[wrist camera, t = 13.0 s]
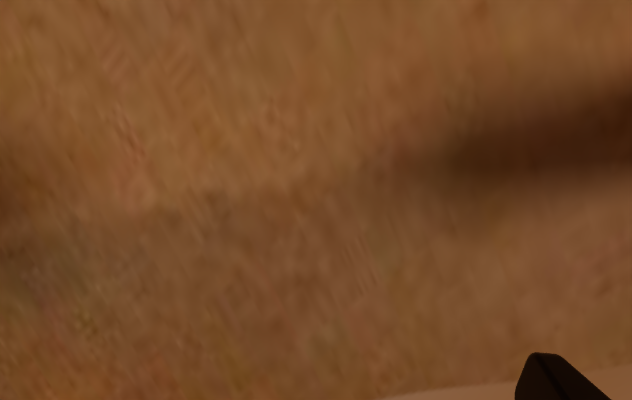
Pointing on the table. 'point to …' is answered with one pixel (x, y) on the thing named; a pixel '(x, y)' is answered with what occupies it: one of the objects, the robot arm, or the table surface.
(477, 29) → the table surface
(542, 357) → the robot arm
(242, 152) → the table surface
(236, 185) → the table surface
